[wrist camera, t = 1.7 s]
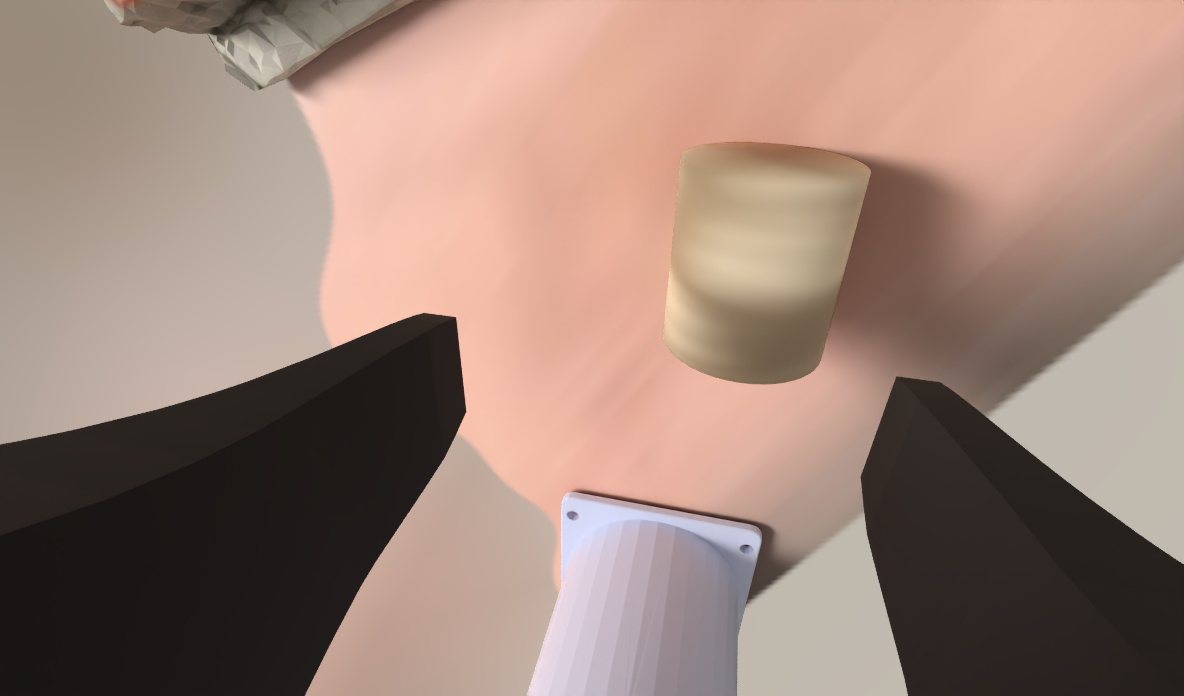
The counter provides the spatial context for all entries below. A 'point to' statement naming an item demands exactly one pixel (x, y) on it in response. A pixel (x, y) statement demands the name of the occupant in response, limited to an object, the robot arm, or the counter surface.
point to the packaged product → (259, 29)
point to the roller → (759, 257)
